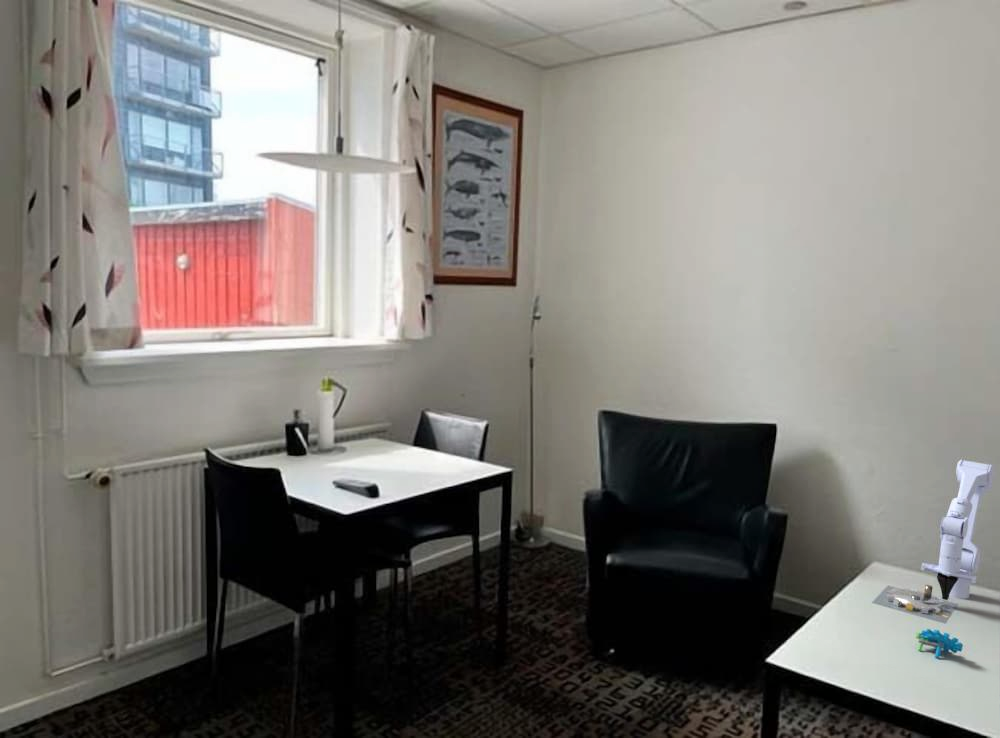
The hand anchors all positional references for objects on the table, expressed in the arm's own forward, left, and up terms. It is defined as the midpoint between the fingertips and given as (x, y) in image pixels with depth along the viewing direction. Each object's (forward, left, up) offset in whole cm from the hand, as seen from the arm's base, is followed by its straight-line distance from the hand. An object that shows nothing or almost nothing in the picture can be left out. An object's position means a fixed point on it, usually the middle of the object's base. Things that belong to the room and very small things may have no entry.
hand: (945, 598), depth 236 cm
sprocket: (+5, -7, -2) cm, 9 cm away
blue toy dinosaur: (+36, +5, -4) cm, 36 cm away
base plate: (+5, -7, -3) cm, 9 cm away
